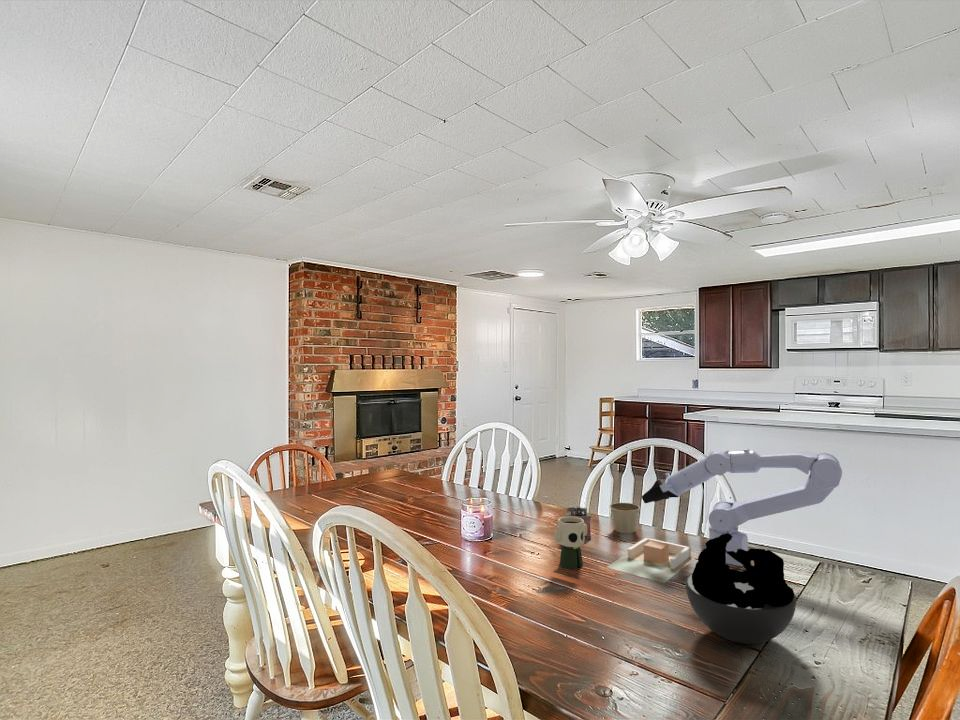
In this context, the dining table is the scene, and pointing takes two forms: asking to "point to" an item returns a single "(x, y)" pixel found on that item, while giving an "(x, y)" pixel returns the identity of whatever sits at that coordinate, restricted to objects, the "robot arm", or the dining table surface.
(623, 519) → the flower pot
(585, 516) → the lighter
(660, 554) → the block
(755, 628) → the coal bowl
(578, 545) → the character mug
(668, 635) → the dining table surface
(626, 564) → the board
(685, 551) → the cream u-shaped frame
